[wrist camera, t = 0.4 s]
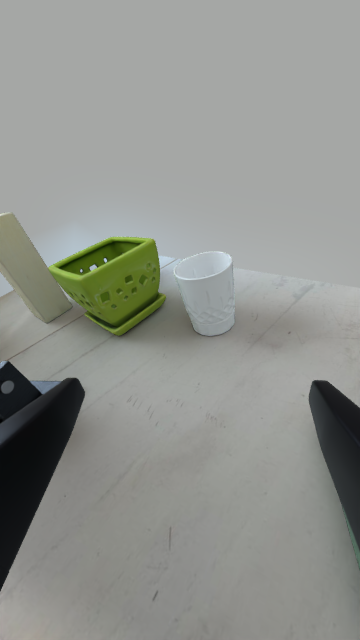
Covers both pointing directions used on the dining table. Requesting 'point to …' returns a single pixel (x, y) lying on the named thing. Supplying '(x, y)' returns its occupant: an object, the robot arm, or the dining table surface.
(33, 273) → the toy refrigerator
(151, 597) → the dining table surface
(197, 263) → the white cup
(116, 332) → the flower pot
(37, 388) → the lever base
